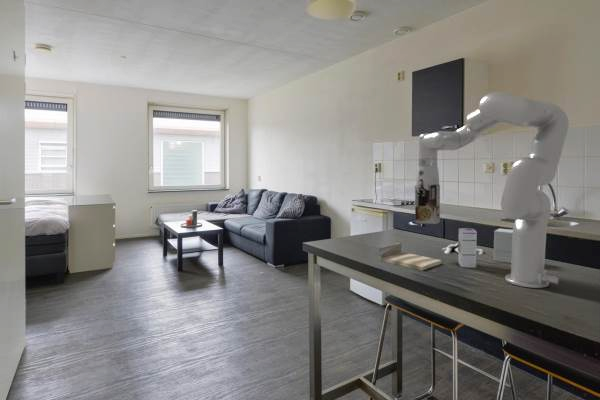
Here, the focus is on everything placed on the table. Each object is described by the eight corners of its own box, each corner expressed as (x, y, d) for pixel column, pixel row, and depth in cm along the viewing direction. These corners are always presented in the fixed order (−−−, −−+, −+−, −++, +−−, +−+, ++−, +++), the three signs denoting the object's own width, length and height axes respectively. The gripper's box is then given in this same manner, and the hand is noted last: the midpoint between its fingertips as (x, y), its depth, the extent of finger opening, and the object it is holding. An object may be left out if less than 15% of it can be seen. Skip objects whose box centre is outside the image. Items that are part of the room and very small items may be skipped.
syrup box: (476, 267, 143) (477, 230, 142) (460, 267, 144) (461, 230, 143) (472, 263, 149) (474, 228, 147) (457, 263, 150) (458, 227, 148)
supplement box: (517, 260, 154) (519, 230, 152) (512, 263, 148) (514, 232, 147) (497, 257, 159) (499, 227, 157) (492, 260, 153) (494, 230, 152)
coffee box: (440, 222, 158) (440, 184, 157) (436, 224, 153) (437, 185, 152) (418, 221, 163) (418, 184, 162) (414, 223, 158) (414, 185, 156)
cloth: (456, 245, 183) (456, 233, 183) (492, 253, 168) (493, 239, 167) (426, 252, 171) (426, 238, 170) (463, 260, 156) (463, 246, 155)
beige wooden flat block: (441, 263, 149) (441, 250, 149) (421, 270, 140) (422, 256, 140) (397, 254, 165) (397, 242, 164) (377, 260, 156) (378, 247, 155)
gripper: (424, 163, 147) (424, 207, 149) (446, 163, 159) (446, 204, 160) (408, 163, 153) (408, 206, 155) (430, 163, 164) (430, 203, 166)
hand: (427, 204), depth 157 cm, fingers closed on coffee box, 7 cm apart
